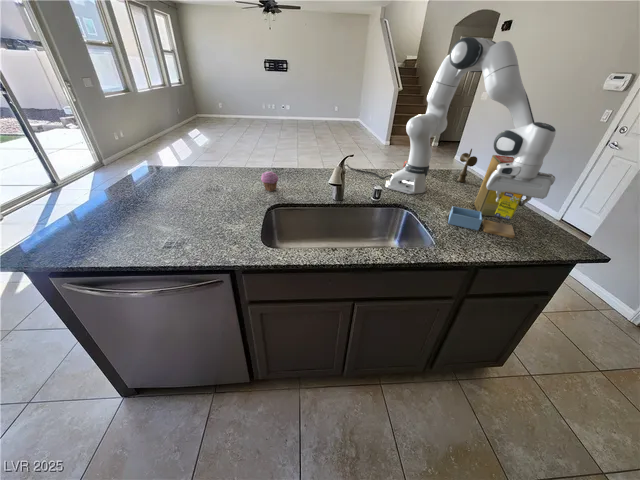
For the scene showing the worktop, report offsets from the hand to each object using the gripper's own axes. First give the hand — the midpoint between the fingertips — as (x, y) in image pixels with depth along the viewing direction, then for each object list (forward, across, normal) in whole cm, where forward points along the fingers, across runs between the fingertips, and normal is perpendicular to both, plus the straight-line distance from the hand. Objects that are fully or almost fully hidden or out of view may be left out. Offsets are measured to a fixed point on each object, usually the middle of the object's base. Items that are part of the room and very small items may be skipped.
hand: (509, 203), depth 108 cm
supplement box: (+6, 0, 0) cm, 6 cm away
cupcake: (+12, +108, +11) cm, 110 cm away
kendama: (+12, +16, -60) cm, 63 cm away
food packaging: (+12, +4, -20) cm, 24 cm away
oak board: (+12, 0, 0) cm, 12 cm away
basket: (+12, +14, 0) cm, 18 cm away
